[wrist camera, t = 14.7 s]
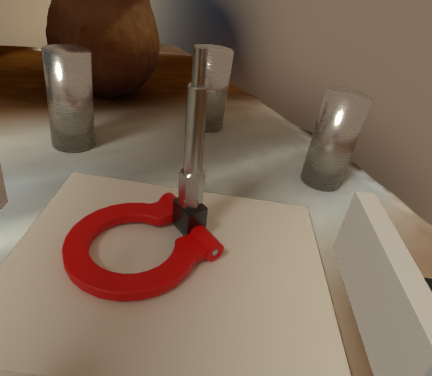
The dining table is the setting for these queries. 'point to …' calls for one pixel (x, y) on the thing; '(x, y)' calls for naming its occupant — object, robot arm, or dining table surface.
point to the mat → (170, 294)
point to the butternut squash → (109, 40)
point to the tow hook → (154, 217)
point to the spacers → (217, 94)
